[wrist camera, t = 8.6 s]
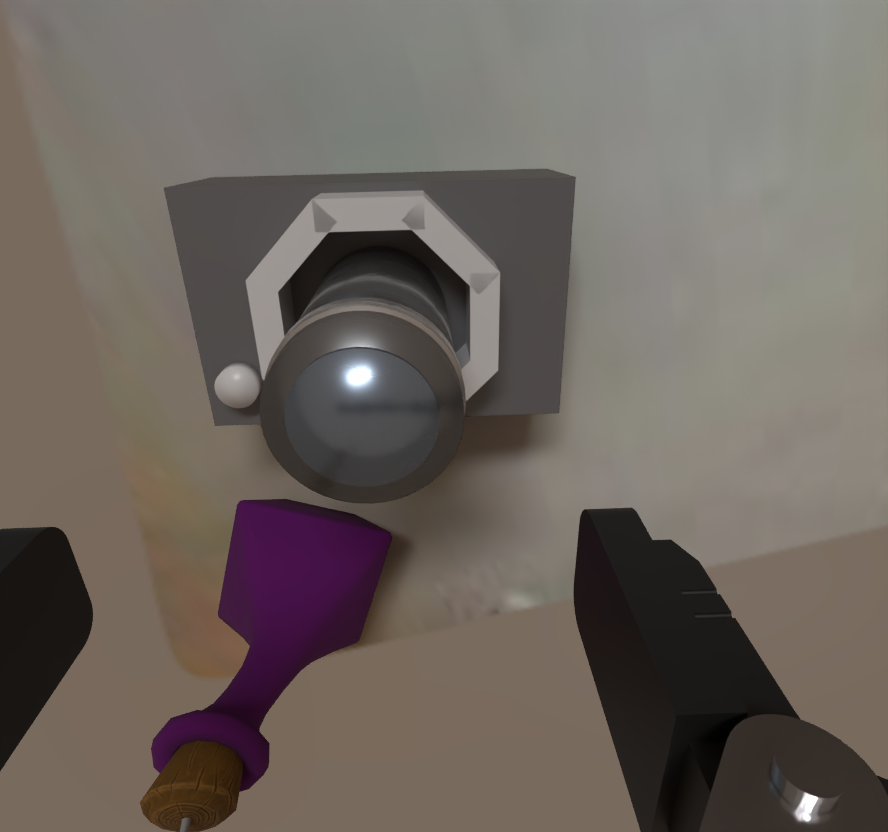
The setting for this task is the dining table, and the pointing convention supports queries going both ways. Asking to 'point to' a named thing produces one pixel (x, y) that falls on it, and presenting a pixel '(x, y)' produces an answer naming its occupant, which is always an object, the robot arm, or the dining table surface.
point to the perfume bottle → (265, 648)
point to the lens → (367, 382)
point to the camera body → (391, 225)
